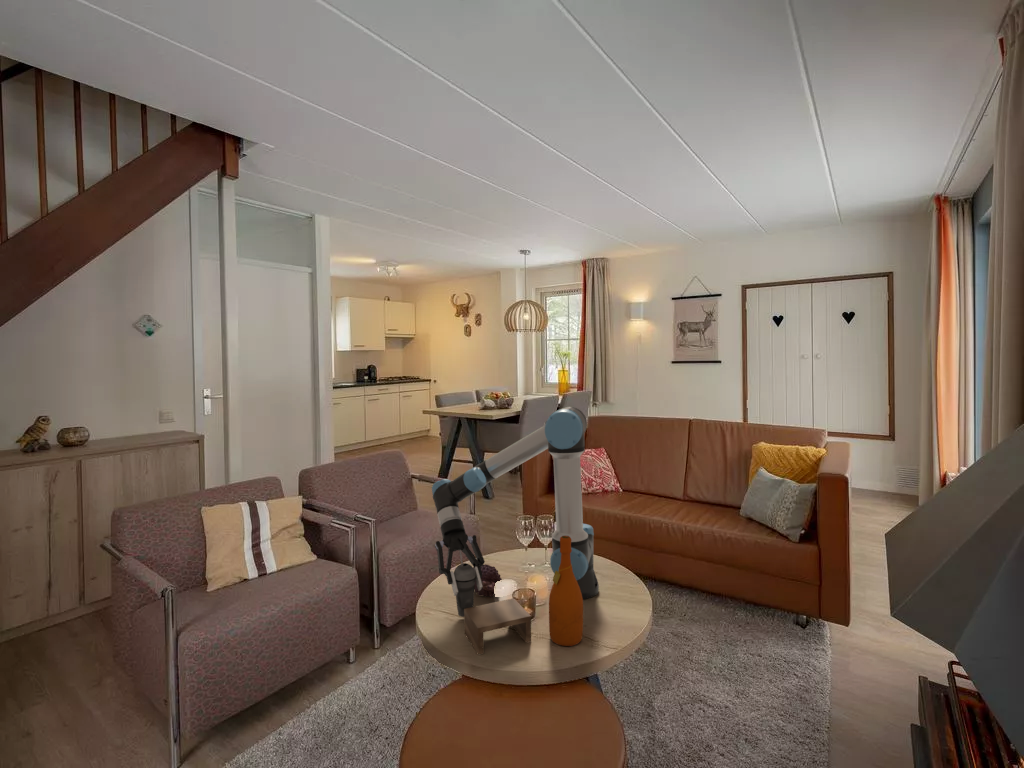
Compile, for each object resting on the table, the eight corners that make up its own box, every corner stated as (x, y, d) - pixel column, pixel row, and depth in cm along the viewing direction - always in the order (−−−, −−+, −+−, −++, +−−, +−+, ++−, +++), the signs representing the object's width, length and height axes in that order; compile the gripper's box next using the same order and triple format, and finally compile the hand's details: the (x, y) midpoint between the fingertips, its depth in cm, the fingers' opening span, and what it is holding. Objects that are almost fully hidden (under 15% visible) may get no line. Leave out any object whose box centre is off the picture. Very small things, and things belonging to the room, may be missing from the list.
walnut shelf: (514, 622, 157) (513, 598, 157) (531, 641, 146) (530, 615, 146) (464, 633, 151) (464, 608, 150) (478, 655, 140) (478, 628, 139)
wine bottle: (554, 627, 154) (553, 529, 152) (586, 633, 150) (586, 532, 149) (544, 644, 145) (543, 540, 143) (578, 651, 141) (578, 544, 140)
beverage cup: (473, 620, 155) (471, 555, 154) (450, 618, 156) (448, 553, 155) (479, 608, 162) (478, 546, 161) (457, 606, 163) (456, 545, 163)
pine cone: (459, 588, 180) (459, 561, 180) (483, 581, 186) (482, 554, 186) (487, 607, 166) (487, 577, 166) (512, 599, 172) (511, 570, 172)
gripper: (477, 524, 176) (495, 589, 162) (419, 533, 168) (434, 602, 154) (482, 513, 171) (501, 579, 157) (423, 522, 163) (438, 592, 149)
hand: (468, 591), depth 156 cm, fingers closed on beverage cup, 7 cm apart
